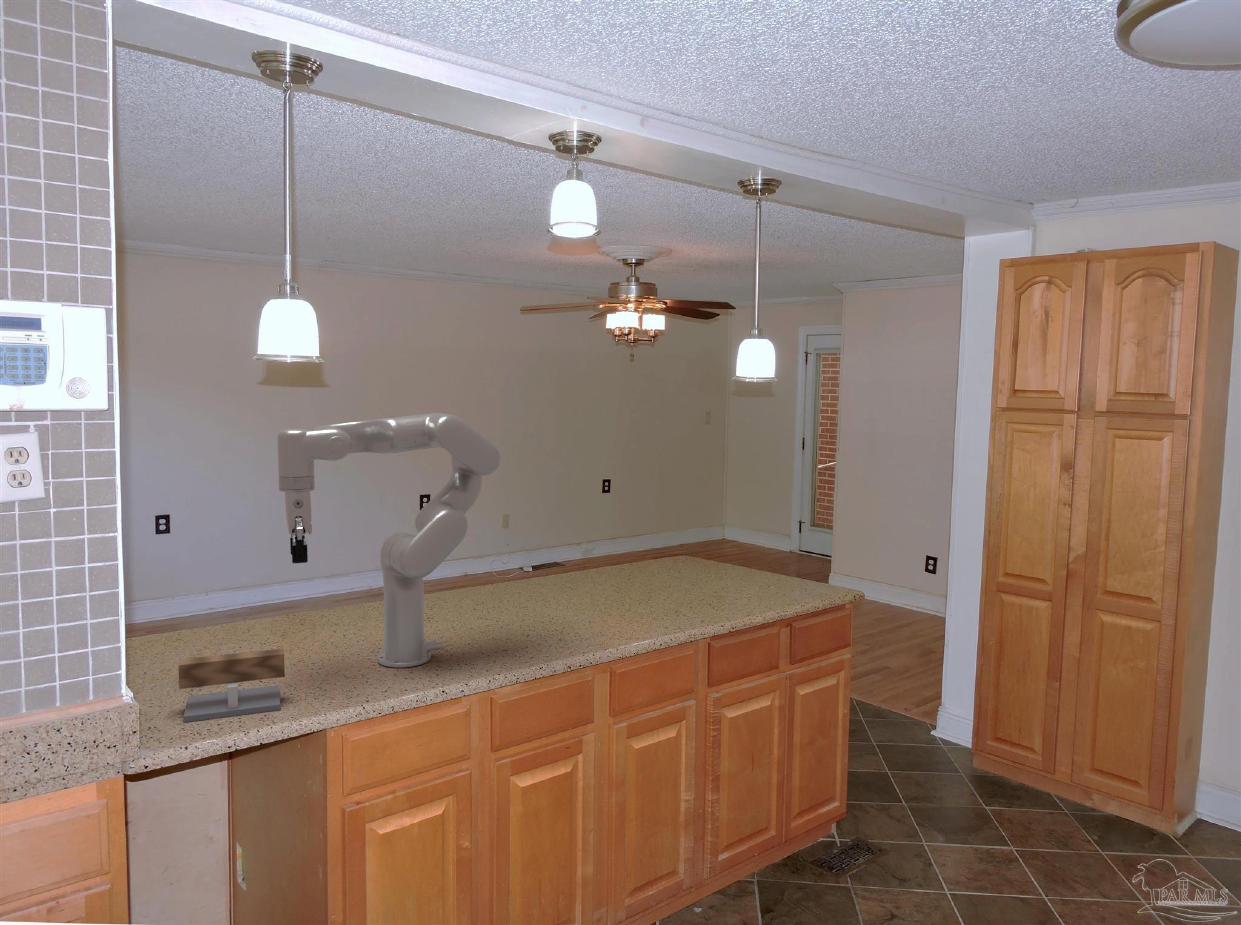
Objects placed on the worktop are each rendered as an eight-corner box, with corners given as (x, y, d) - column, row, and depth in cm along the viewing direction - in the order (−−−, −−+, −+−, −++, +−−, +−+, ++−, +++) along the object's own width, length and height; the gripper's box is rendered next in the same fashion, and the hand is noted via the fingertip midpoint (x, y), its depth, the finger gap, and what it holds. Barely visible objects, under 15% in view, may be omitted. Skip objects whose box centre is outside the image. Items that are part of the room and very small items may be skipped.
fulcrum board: (279, 690, 188) (278, 665, 187) (280, 709, 177) (279, 683, 176) (188, 701, 181) (187, 675, 180) (183, 722, 170) (182, 695, 169)
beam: (284, 670, 184) (283, 648, 184) (284, 676, 180) (284, 653, 180) (181, 682, 176) (180, 659, 176) (179, 688, 173) (178, 665, 172)
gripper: (317, 487, 184) (319, 564, 186) (312, 478, 200) (314, 550, 202) (279, 489, 181) (282, 567, 183) (278, 479, 197) (280, 552, 199)
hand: (299, 558), depth 192 cm, fingers open, 9 cm apart
